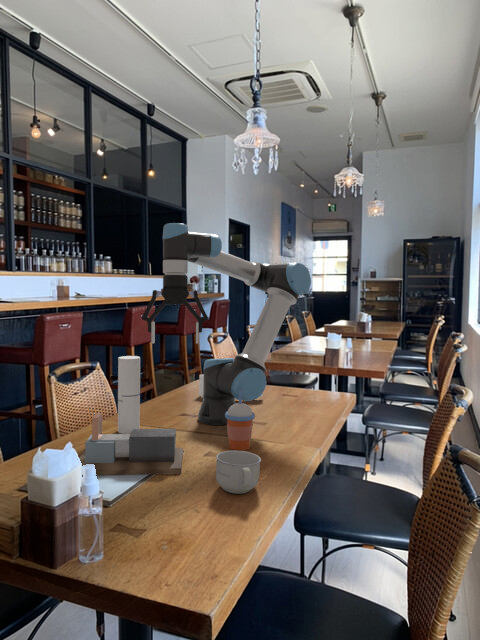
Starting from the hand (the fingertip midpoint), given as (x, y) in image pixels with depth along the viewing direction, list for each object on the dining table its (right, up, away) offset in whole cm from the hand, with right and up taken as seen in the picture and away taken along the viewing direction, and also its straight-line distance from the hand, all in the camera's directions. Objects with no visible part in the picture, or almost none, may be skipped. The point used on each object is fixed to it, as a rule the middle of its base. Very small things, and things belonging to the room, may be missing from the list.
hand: (175, 343), depth 143 cm
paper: (+16, -29, +64) cm, 72 cm away
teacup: (+20, -34, -33) cm, 51 cm away
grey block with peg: (-13, -29, -17) cm, 37 cm away
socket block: (-18, -31, -18) cm, 39 cm away
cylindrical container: (-18, -31, +13) cm, 37 cm away
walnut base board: (-10, -32, -17) cm, 38 cm away
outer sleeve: (-4, -31, -16) cm, 35 cm away
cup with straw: (+20, -32, -2) cm, 38 cm away
